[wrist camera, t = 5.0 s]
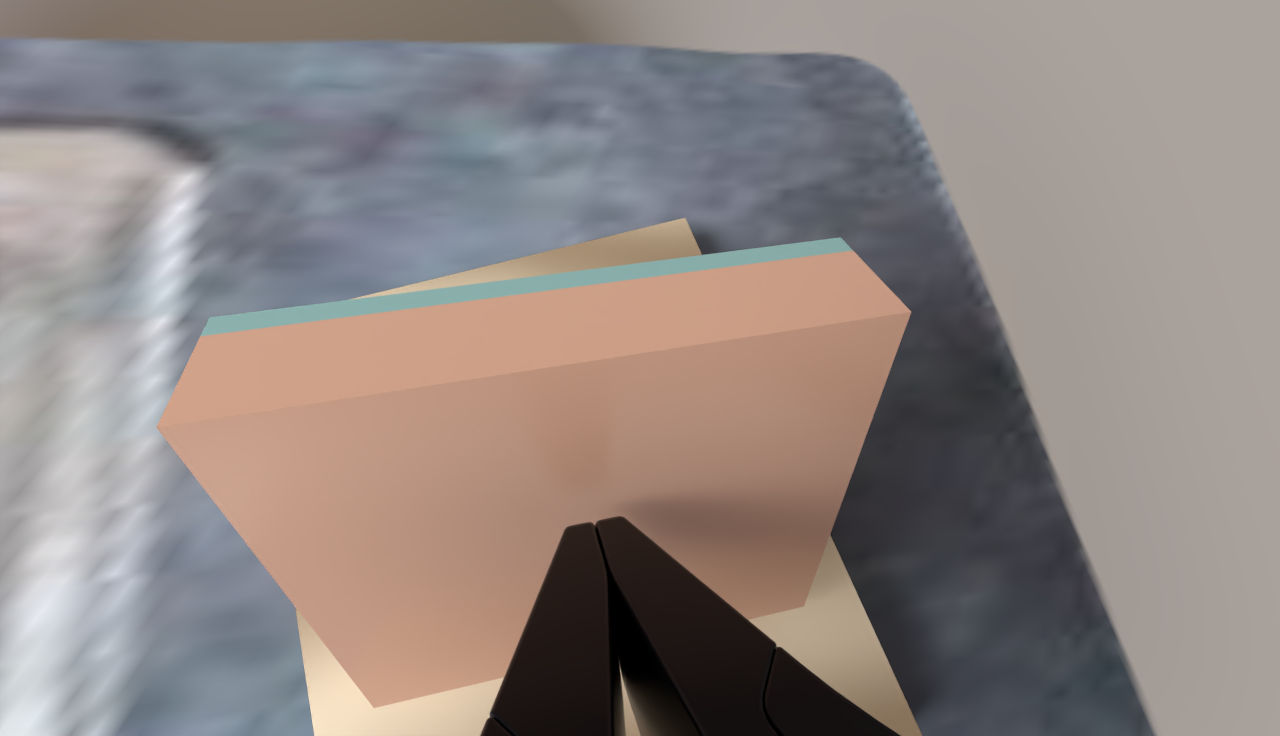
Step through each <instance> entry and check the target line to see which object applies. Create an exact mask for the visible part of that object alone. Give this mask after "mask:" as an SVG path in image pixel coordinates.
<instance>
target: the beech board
mask: <svg viewBox="0 0 1280 736" xmlns="http://www.w3.org/2000/svg"><path fill="white" fill-rule="evenodd" d="M698 255H702V254H701V251H700V249H699V247H698V245H697V243H696V240H695V238H694V236H693V234H692V232H691V230H690V227H689V225H688V223H687V221H686V219H685V218H682V219H678V220H674V221H670V222H666V223H662V224H658V225H654V226H649V227H645V228H641V229H637V230H633V231H629V232H625V233H621V234H617V235H613V236H608V237H604V238H600V239H596V240H592V241H588V242H584V243H580V244H576V245H572V246H567V247H563V248H559V249H555V250H551V251H547V252H543V253H539V254H535V255H531V256H526V257H522V258H518V259H514V260H510V261H506V262H502V263H498V264H494V265H489V266H485V267H481V268H477V269H473V270H469V271H465V272H461V273H457V274H453V275H448V276H444V277H440V278H436V279H432V280H428V281H424V282H420V283H416V284H412V285H407V286H403V287H399V288H395V289H391V290H387V291H383V292H379V293H375V294H371V295H366V296H362V297H358V298H354V299H360V298H368V297H376V296H384V295H391V294H399V293H407V292H415V291H423V290H431V289H439V288H447V287H454V286H462V285H470V284H478V283H486V282H494V281H502V280H510V279H517V278H525V277H533V276H541V275H549V274H557V273H565V272H573V271H580V270H588V269H596V268H604V267H612V266H620V265H628V264H635V263H643V262H651V261H659V260H667V259H675V258H683V257H691V256H698ZM350 300H352V299H350ZM295 608H296V607H295ZM296 614H297V621H298V628H299V634H300V641H301V648H302V655H303V661H304V668H305V675H306V682H307V688H308V695H309V702H310V708H311V715H312V722H313V729H314V735H315V736H480V734H481V732H482V729H483V727H484V725H485V722H486V720H487V719H488V718H490V715H489V714H490V711H491V708H492V706H493V703H494V701H495V698H496V696H497V693H498V691H499V689H500V686H501V684H502V681H503V679H504V678H499V679H495V680H491V681H487V682H483V683H478V684H474V685H470V686H466V687H461V688H457V689H453V690H449V691H444V692H440V693H436V694H432V695H428V696H423V697H419V698H415V699H411V700H406V701H402V702H398V703H394V704H390V705H385V706H381V707H377V708H373V706H372V705H371V704H370V702H369V701H368V700H367V699H366V697H365V696H364V695H363V693H362V692H361V691H360V690H359V688H358V687H357V686H356V684H355V683H354V682H353V680H352V679H351V678H350V677H349V675H348V674H347V673H346V671H345V670H344V669H343V668H342V666H341V665H340V664H339V662H338V661H337V660H336V659H335V657H334V656H333V655H332V653H331V652H330V651H329V649H328V648H327V647H326V646H325V644H324V643H323V642H322V640H321V639H320V638H319V637H318V635H317V634H316V633H315V631H314V630H313V629H312V628H311V626H310V625H309V624H308V622H307V621H306V620H305V618H304V617H303V616H302V615H301V613H300V612H299V611H298V609H297V608H296ZM749 621H750V622H751V623H753V624H754V625H755V626H756V627H757V628H759V629H760V630H761V631H762V632H763V633H765V634H766V635H767V636H768V637H769V638H771V639H772V640H773V641H774V642H775V643H776V645H777V647H782V648H783V649H784V650H785V651H787V652H788V653H789V654H790V655H791V656H793V657H794V658H795V659H796V660H797V661H799V662H800V663H801V664H802V665H804V666H805V667H806V668H807V669H809V670H810V671H811V672H812V673H814V674H815V675H816V676H818V677H819V678H820V679H821V680H823V681H824V682H825V683H827V684H828V685H829V686H830V687H832V688H833V689H834V690H835V691H837V692H838V693H840V694H841V695H843V696H844V697H845V698H847V699H848V700H850V701H851V702H852V703H854V704H855V705H857V706H858V707H860V708H861V709H862V710H864V711H865V712H867V713H868V714H870V715H871V716H872V717H874V718H875V719H877V720H878V721H880V722H881V723H883V724H884V725H886V726H887V727H889V728H890V729H892V730H893V731H895V732H896V733H898V734H899V735H901V736H922V734H921V732H920V730H919V727H918V725H917V723H916V721H915V719H914V716H913V714H912V712H911V710H910V708H909V706H908V703H907V701H906V699H905V697H904V695H903V692H902V690H901V688H900V686H899V684H898V682H897V679H896V677H895V675H894V673H893V671H892V668H891V666H890V664H889V662H888V660H887V658H886V655H885V653H884V651H883V649H882V647H881V644H880V642H879V640H878V638H877V636H876V634H875V631H874V629H873V627H872V625H871V623H870V620H869V618H868V616H867V614H866V612H865V609H864V607H863V605H862V603H861V601H860V599H859V596H858V594H857V592H856V590H855V588H854V585H853V583H852V581H851V579H850V577H849V575H848V572H847V570H846V568H845V566H844V564H843V561H842V559H841V557H840V555H839V553H838V551H837V548H836V546H835V544H834V542H833V540H832V537H831V535H830V536H829V539H828V542H827V545H826V547H825V550H824V553H823V555H822V558H821V561H820V564H819V566H818V569H817V572H816V575H815V577H814V580H813V583H812V586H811V588H810V591H809V594H808V597H807V599H806V602H805V605H804V607H800V608H796V609H791V610H787V611H783V612H779V613H774V614H770V615H766V616H762V617H757V618H753V619H749ZM620 674H621V670H620ZM621 683H622V692H623V703H624V716H625V729H626V736H641V735H640V732H639V729H638V726H637V723H636V720H635V717H634V714H633V711H632V708H631V705H630V702H629V699H628V696H627V692H626V689H625V686H624V682H623V679H622V675H621Z"/></svg>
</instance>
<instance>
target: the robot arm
mask: <svg viewBox="0 0 1280 736" xmlns="http://www.w3.org/2000/svg"><path fill="white" fill-rule="evenodd" d="M620 670H621V674H620ZM621 675H622V679H623V682H624V686H625V689H626V692H627V696H628V699H629V702H630V705H631V708H632V711H633V714H634V717H635V720H636V723H637V726H638V729H639V732H640V735H641V736H901V735H899V734H898V733H896V732H895V731H893V730H892V729H890V728H889V727H887V726H886V725H884V724H883V723H881V722H880V721H878V720H877V719H875V718H874V717H872V716H871V715H870V714H868V713H867V712H865V711H864V710H862V709H861V708H860V707H858V706H857V705H855V704H854V703H852V702H851V701H850V700H848V699H847V698H845V697H844V696H843V695H841V694H840V693H838V692H837V691H835V690H834V689H833V688H832V687H830V686H829V685H828V684H827V683H825V682H824V681H823V680H821V679H820V678H819V677H818V676H816V675H815V674H814V673H812V672H811V671H810V670H809V669H807V668H806V667H805V666H804V665H802V664H801V663H800V662H799V661H797V660H796V659H795V658H794V657H793V656H791V655H790V654H789V653H788V652H787V651H785V650H784V649H783V648H782V647H777V645H776V643H775V642H774V641H773V640H772V639H771V638H769V637H768V636H767V635H766V634H765V633H763V632H762V631H761V630H760V629H759V628H757V627H756V626H755V625H754V624H753V623H751V622H750V621H749V620H748V619H746V618H745V617H744V616H743V615H742V614H740V613H739V612H738V611H737V610H736V609H734V608H733V607H732V606H731V605H730V604H728V603H727V602H726V601H725V600H724V599H722V598H721V597H720V596H719V595H718V594H716V593H715V592H714V591H713V590H712V589H710V588H709V587H708V586H707V585H706V584H704V583H703V582H702V581H701V580H699V579H698V578H697V577H696V576H695V575H693V574H692V573H691V572H690V571H689V570H687V569H686V568H685V567H684V566H683V565H681V564H680V563H679V562H678V561H677V560H675V559H674V558H673V557H672V556H671V555H669V554H668V553H667V552H666V551H665V550H663V549H662V548H661V547H660V546H658V545H657V544H656V543H655V542H654V541H652V540H651V539H650V538H649V537H648V536H646V535H645V534H644V533H643V532H642V531H640V530H639V529H638V528H637V527H636V526H634V525H633V524H632V523H631V522H630V521H628V520H627V519H626V518H625V517H622V516H617V517H611V518H606V519H601V520H598V521H597V522H596V524H595V525H594V524H593V523H592V522H586V523H581V524H576V525H571V526H568V527H566V528H565V530H564V532H563V534H562V537H561V539H560V542H559V544H558V546H557V549H556V551H555V554H554V556H553V559H552V561H551V564H550V566H549V568H548V571H547V573H546V576H545V578H544V581H543V583H542V586H541V588H540V591H539V593H538V595H537V598H536V600H535V603H534V605H533V608H532V610H531V613H530V615H529V617H528V620H527V622H526V625H525V627H524V630H523V632H522V635H521V637H520V640H519V642H518V644H517V647H516V649H515V652H514V654H513V657H512V659H511V662H510V664H509V667H508V669H507V671H506V674H505V676H504V679H503V681H502V684H501V686H500V689H499V691H498V693H497V696H496V698H495V701H494V703H493V706H492V708H491V711H490V714H489V715H490V718H488V719H487V720H486V722H485V725H484V727H483V729H482V732H481V734H480V736H626V729H625V716H624V703H623V692H622V683H621Z"/></svg>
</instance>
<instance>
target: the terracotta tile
mask: <svg viewBox="0 0 1280 736" xmlns="http://www.w3.org/2000/svg"><path fill="white" fill-rule="evenodd" d="M910 314H911V311H910V310H909V309H908V308H907V307H906V306H905V305H904V304H903V303H902V302H901V300H900V299H899V298H898V297H897V296H896V295H895V294H894V293H893V292H892V291H891V290H890V289H889V288H888V287H887V286H886V285H885V284H884V283H883V282H882V280H881V279H880V278H879V277H878V276H877V275H876V274H875V273H874V272H873V271H872V270H871V269H870V268H869V267H868V266H867V265H866V264H865V263H864V262H863V260H862V259H861V258H860V257H859V256H858V255H857V254H856V253H855V252H854V251H853V250H852V249H851V248H850V247H849V246H848V245H847V244H846V243H845V242H844V240H843V239H842V238H841V237H840V238H832V239H824V240H817V241H809V242H801V243H793V244H785V245H777V246H769V247H761V248H754V249H746V250H738V251H730V252H722V253H714V254H706V255H698V256H691V257H683V258H675V259H667V260H659V261H651V262H643V263H635V264H628V265H620V266H612V267H604V268H596V269H588V270H580V271H573V272H565V273H557V274H549V275H541V276H533V277H525V278H517V279H510V280H502V281H494V282H486V283H478V284H470V285H462V286H454V287H447V288H439V289H431V290H423V291H415V292H407V293H399V294H391V295H384V296H376V297H368V298H360V299H352V300H344V301H336V302H328V303H321V304H313V305H305V306H297V307H289V308H281V309H273V310H265V311H258V312H250V313H242V314H234V315H226V316H218V317H210V318H209V320H208V322H207V324H206V326H205V328H204V330H203V332H202V334H201V336H200V338H199V340H198V343H197V345H196V347H195V349H194V351H193V353H192V355H191V357H190V359H189V361H188V363H187V365H186V367H185V370H184V372H183V374H182V376H181V378H180V380H179V382H178V384H177V386H176V388H175V390H174V392H173V394H172V396H171V399H170V401H169V403H168V405H167V407H166V409H165V411H164V413H163V415H162V417H161V419H160V421H159V423H158V425H157V429H158V430H159V431H160V432H161V434H162V435H163V436H164V438H165V439H166V440H167V442H168V443H169V444H170V445H171V447H172V448H173V449H174V451H175V452H176V453H177V454H178V456H179V457H180V458H181V460H182V461H183V462H184V463H185V465H186V466H187V467H188V469H189V470H190V471H191V473H192V474H193V475H194V476H195V478H196V479H197V480H198V482H199V483H200V484H201V485H202V487H203V488H204V489H205V491H206V492H207V493H208V494H209V496H210V497H211V498H212V500H213V501H214V502H215V504H216V505H217V506H218V507H219V509H220V510H221V511H222V513H223V514H224V515H225V516H226V518H227V519H228V520H229V522H230V523H231V524H232V525H233V527H234V528H235V529H236V531H237V532H238V533H239V535H240V536H241V537H242V538H243V540H244V541H245V542H246V544H247V545H248V546H249V547H250V549H251V550H252V551H253V553H254V554H255V555H256V556H257V558H258V559H259V560H260V562H261V563H262V564H263V566H264V567H265V568H266V569H267V571H268V572H269V573H270V575H271V576H272V577H273V578H274V580H275V581H276V582H277V584H278V585H279V586H280V587H281V589H282V590H283V591H284V593H285V594H286V595H287V597H288V598H289V599H290V600H291V602H292V603H293V604H294V606H295V607H296V608H297V609H298V611H299V612H300V613H301V615H302V616H303V617H304V618H305V620H306V621H307V622H308V624H309V625H310V626H311V628H312V629H313V630H314V631H315V633H316V634H317V635H318V637H319V638H320V639H321V640H322V642H323V643H324V644H325V646H326V647H327V648H328V649H329V651H330V652H331V653H332V655H333V656H334V657H335V659H336V660H337V661H338V662H339V664H340V665H341V666H342V668H343V669H344V670H345V671H346V673H347V674H348V675H349V677H350V678H351V679H352V680H353V682H354V683H355V684H356V686H357V687H358V688H359V690H360V691H361V692H362V693H363V695H364V696H365V697H366V699H367V700H368V701H369V702H370V704H371V705H372V706H373V708H377V707H381V706H385V705H390V704H394V703H398V702H402V701H406V700H411V699H415V698H419V697H423V696H428V695H432V694H436V693H440V692H444V691H449V690H453V689H457V688H461V687H466V686H470V685H474V684H478V683H483V682H487V681H491V680H495V679H499V678H504V676H505V674H506V671H507V669H508V667H509V664H510V662H511V659H512V657H513V654H514V652H515V649H516V647H517V644H518V642H519V640H520V637H521V635H522V632H523V630H524V627H525V625H526V622H527V620H528V617H529V615H530V613H531V610H532V608H533V605H534V603H535V600H536V598H537V595H538V593H539V591H540V588H541V586H542V583H543V581H544V578H545V576H546V573H547V571H548V568H549V566H550V564H551V561H552V559H553V556H554V554H555V551H556V549H557V546H558V544H559V542H560V539H561V537H562V534H563V532H564V530H565V528H566V527H568V526H571V525H576V524H581V523H586V522H592V523H593V524H594V525H595V524H596V522H597V521H598V520H601V519H606V518H611V517H617V516H622V517H625V518H626V519H627V520H628V521H630V522H631V523H632V524H633V525H634V526H636V527H637V528H638V529H639V530H640V531H642V532H643V533H644V534H645V535H646V536H648V537H649V538H650V539H651V540H652V541H654V542H655V543H656V544H657V545H658V546H660V547H661V548H662V549H663V550H665V551H666V552H667V553H668V554H669V555H671V556H672V557H673V558H674V559H675V560H677V561H678V562H679V563H680V564H681V565H683V566H684V567H685V568H686V569H687V570H689V571H690V572H691V573H692V574H693V575H695V576H696V577H697V578H698V579H699V580H701V581H702V582H703V583H704V584H706V585H707V586H708V587H709V588H710V589H712V590H713V591H714V592H715V593H716V594H718V595H719V596H720V597H721V598H722V599H724V600H725V601H726V602H727V603H728V604H730V605H731V606H732V607H733V608H734V609H736V610H737V611H738V612H739V613H740V614H742V615H743V616H744V617H745V618H746V619H748V620H749V619H753V618H757V617H762V616H766V615H770V614H774V613H779V612H783V611H787V610H791V609H796V608H800V607H804V605H805V602H806V599H807V597H808V594H809V591H810V588H811V586H812V583H813V580H814V577H815V575H816V572H817V569H818V566H819V564H820V561H821V558H822V555H823V553H824V550H825V547H826V545H827V542H828V539H829V536H830V534H831V531H832V528H833V525H834V523H835V520H836V517H837V514H838V512H839V509H840V506H841V503H842V501H843V498H844V495H845V492H846V490H847V487H848V484H849V482H850V479H851V476H852V473H853V471H854V468H855V465H856V462H857V460H858V457H859V454H860V451H861V449H862V446H863V443H864V440H865V438H866V435H867V432H868V429H869V427H870V424H871V421H872V419H873V416H874V413H875V410H876V408H877V405H878V402H879V399H880V397H881V394H882V391H883V388H884V386H885V383H886V380H887V377H888V375H889V372H890V369H891V366H892V364H893V361H894V358H895V356H896V353H897V350H898V347H899V345H900V342H901V339H902V336H903V334H904V331H905V328H906V325H907V323H908V320H909V317H910Z"/></svg>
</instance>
